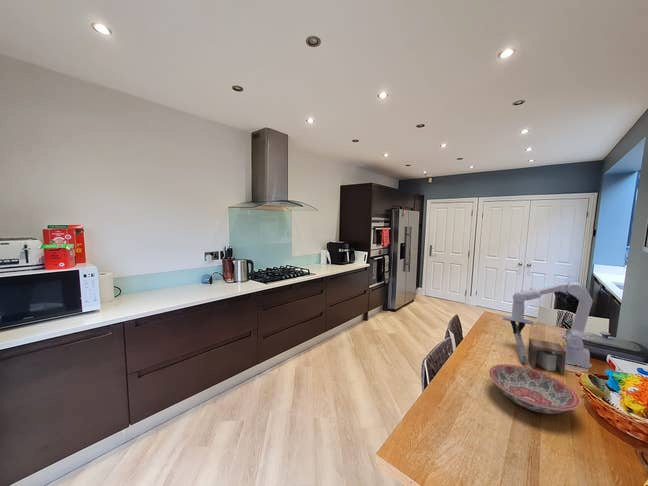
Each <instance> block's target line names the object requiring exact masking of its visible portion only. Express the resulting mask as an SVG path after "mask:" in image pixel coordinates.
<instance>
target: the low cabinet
mask: <svg viewBox="0 0 648 486" xmlns="http://www.w3.org/2000/svg"><path fill="white" fill-rule="evenodd" d="M537 349H538V350H543V351H548V352H552V353H554V354H556V355H557V357H556V370H557V372H558V373H559V374H560V375H561V376H565V368H566V367H565V366H566V363H565V358H566V351H565V350H564V348H563V346H562V345H561V344H560V343H558V342H552V341H546V340H541V339H535V338H529V339H528V352H527V360H528V362H529V364H530V366H531V367H530V368H531V369H534V370H536V365H537V363H536V352H537Z"/></svg>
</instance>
